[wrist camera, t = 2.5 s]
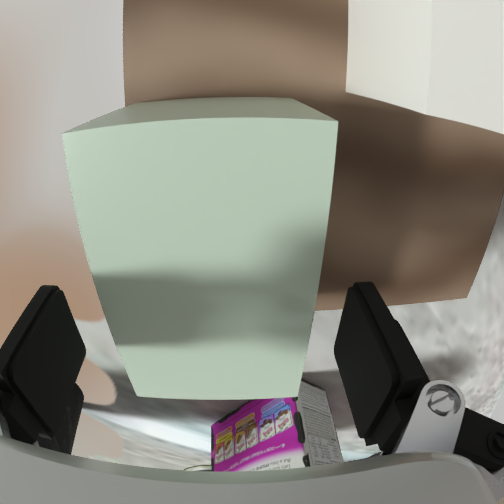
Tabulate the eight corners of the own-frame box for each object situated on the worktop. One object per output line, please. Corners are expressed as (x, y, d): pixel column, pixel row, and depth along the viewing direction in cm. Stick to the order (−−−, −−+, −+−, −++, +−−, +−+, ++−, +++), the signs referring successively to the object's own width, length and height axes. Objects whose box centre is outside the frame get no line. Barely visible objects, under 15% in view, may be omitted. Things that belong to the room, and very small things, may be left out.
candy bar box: (249, 436, 30) (257, 578, 16) (209, 423, 29) (208, 579, 15) (330, 388, 26) (368, 563, 12) (291, 370, 24) (321, 574, 10)
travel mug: (89, 381, 25) (46, 586, 8) (84, 414, 28) (53, 579, 11) (17, 348, 23) (-52, 538, 6) (22, 387, 26) (-25, 543, 9)
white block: (345, 91, 13) (425, 114, 7) (347, -41, 9) (420, -96, 3) (507, 127, 14) (592, 168, 8) (513, 22, 10) (601, 33, 4)
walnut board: (132, -46, 9) (127, -52, 9) (512, 18, 10) (522, 18, 10) (158, 302, 20) (156, 313, 19) (460, 289, 21) (466, 297, 20)
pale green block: (135, 103, 13) (62, 133, 7) (291, 98, 13) (338, 121, 7) (160, 297, 19) (137, 396, 13) (279, 296, 19) (297, 396, 13)
